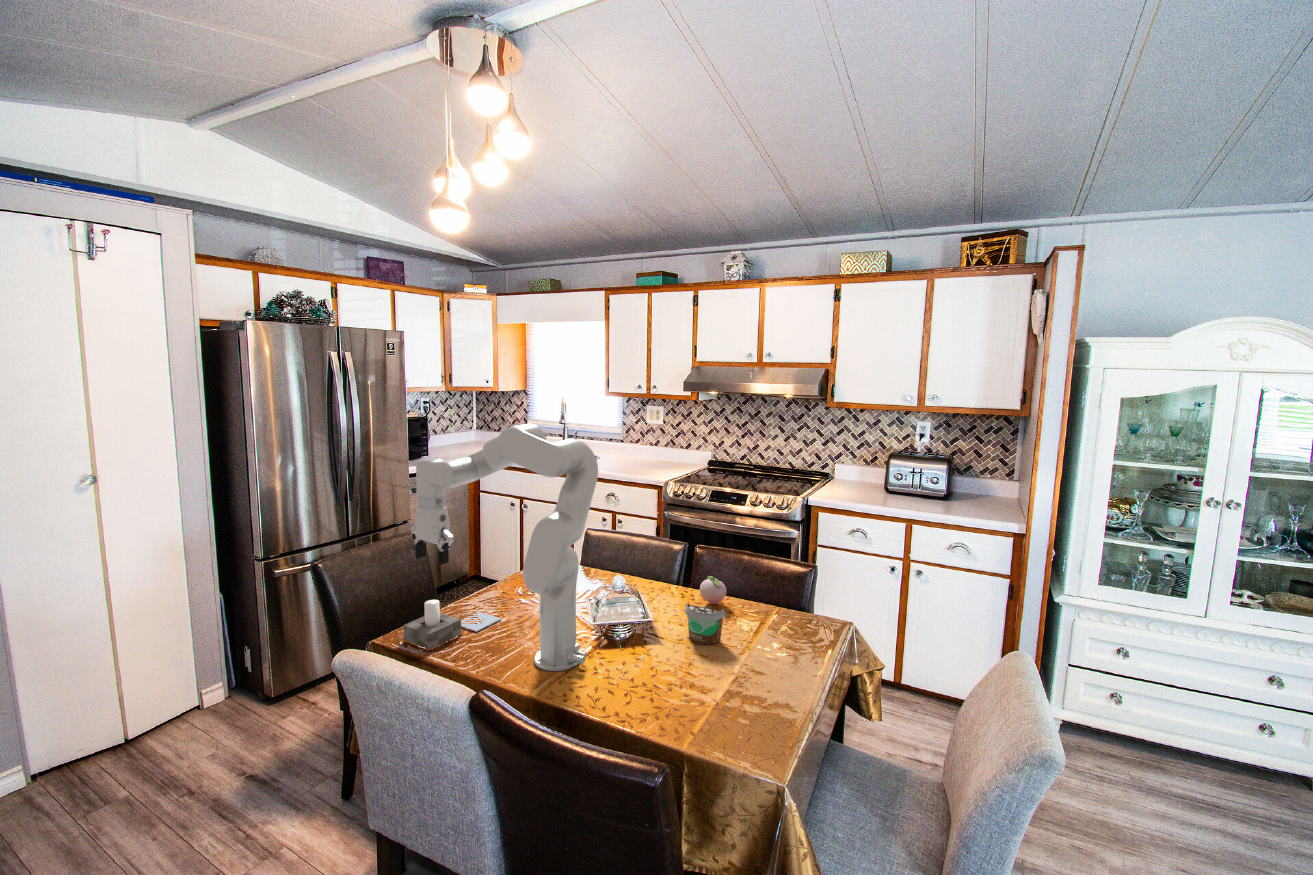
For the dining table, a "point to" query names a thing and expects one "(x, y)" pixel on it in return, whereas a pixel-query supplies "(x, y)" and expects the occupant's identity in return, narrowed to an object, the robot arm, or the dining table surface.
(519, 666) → the dining table surface
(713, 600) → the decorative fruit
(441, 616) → the socket block
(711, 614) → the food container
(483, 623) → the mat
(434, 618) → the peg
